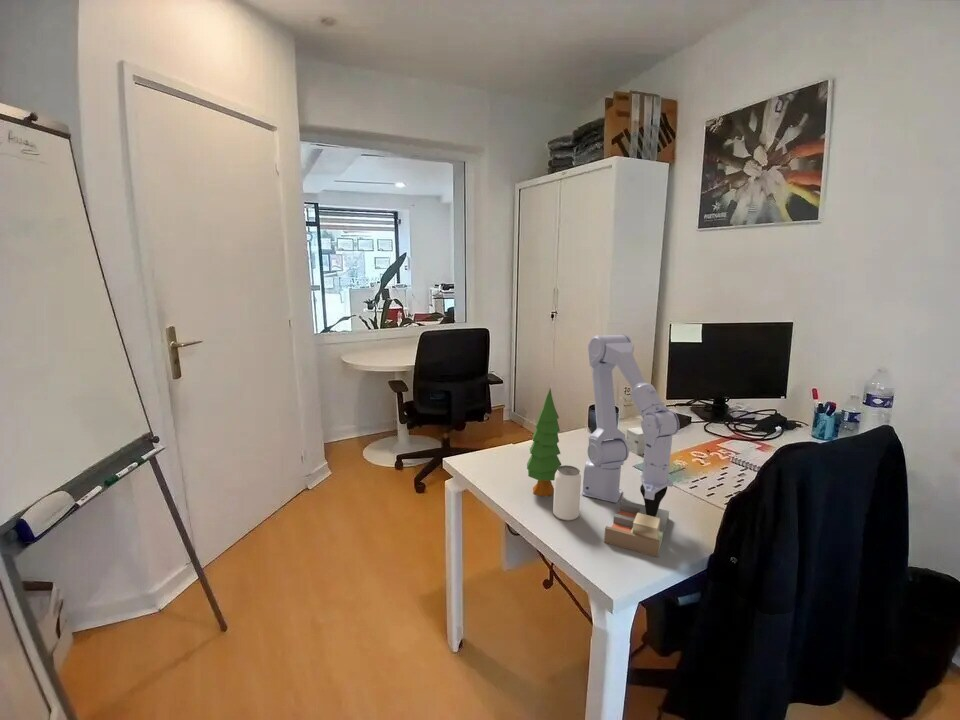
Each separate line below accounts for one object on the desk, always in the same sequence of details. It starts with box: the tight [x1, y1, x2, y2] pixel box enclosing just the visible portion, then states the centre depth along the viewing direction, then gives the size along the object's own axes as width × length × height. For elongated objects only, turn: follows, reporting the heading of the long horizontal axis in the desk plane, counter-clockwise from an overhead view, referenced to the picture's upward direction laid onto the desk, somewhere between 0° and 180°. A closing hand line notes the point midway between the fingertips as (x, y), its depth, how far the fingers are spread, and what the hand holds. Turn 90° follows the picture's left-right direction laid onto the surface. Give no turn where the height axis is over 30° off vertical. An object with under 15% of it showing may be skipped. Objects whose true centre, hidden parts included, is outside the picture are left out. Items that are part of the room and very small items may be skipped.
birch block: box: [632, 513, 660, 539], centre depth 105 cm, size 5×5×4 cm
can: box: [552, 464, 582, 522], centre depth 118 cm, size 6×6×12 cm
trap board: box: [603, 499, 670, 558], centre depth 112 cm, size 12×18×4 cm, turn 152°
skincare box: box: [625, 426, 645, 455], centre depth 161 cm, size 6×6×7 cm
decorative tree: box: [526, 387, 563, 497], centre depth 128 cm, size 10×9×30 cm
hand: (651, 514), depth 112 cm, fingers closed
